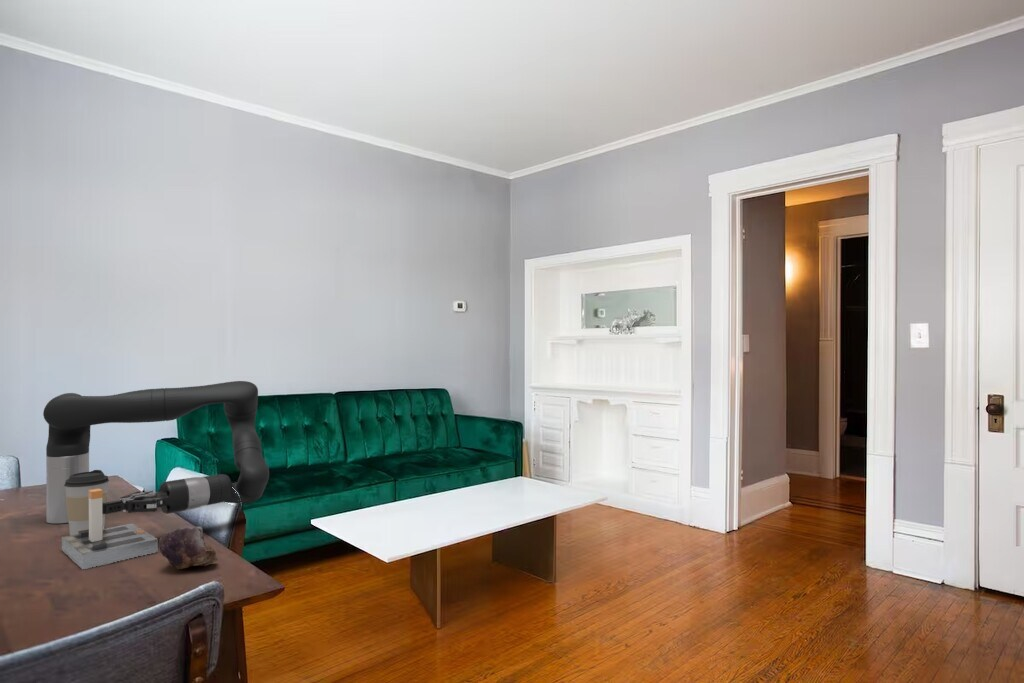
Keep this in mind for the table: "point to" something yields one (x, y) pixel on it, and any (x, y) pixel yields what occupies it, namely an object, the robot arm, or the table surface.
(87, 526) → the coffee cup
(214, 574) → the table surface
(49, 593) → the table surface
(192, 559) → the rock
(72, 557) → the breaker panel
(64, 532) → the table surface
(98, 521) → the orange-capped grey post
